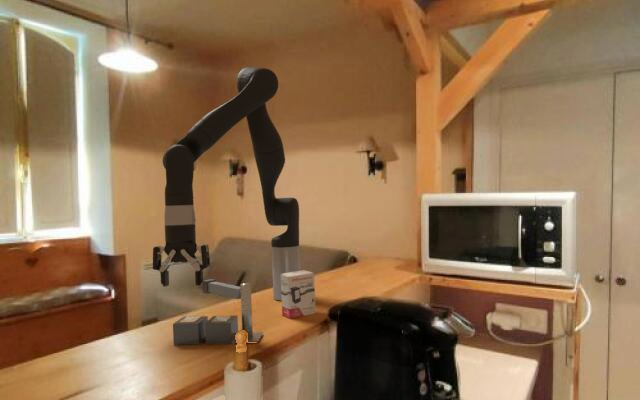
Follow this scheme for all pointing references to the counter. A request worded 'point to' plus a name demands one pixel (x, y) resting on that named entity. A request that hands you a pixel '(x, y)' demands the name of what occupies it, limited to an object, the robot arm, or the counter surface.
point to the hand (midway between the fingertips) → (182, 285)
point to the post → (247, 314)
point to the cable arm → (221, 289)
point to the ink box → (298, 294)
